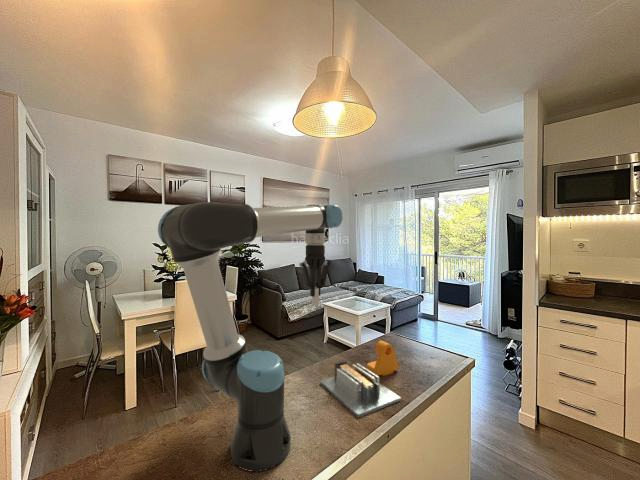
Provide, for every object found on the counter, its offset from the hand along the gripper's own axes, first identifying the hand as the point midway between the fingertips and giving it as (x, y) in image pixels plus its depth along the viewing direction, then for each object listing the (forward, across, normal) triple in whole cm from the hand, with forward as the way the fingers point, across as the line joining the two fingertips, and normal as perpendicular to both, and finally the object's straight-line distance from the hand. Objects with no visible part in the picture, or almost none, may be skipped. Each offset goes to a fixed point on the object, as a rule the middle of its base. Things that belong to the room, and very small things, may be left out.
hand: (315, 304), depth 109 cm
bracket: (+29, +26, -9) cm, 40 cm away
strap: (+24, +8, -16) cm, 30 cm away
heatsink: (+28, +8, -18) cm, 34 cm away
